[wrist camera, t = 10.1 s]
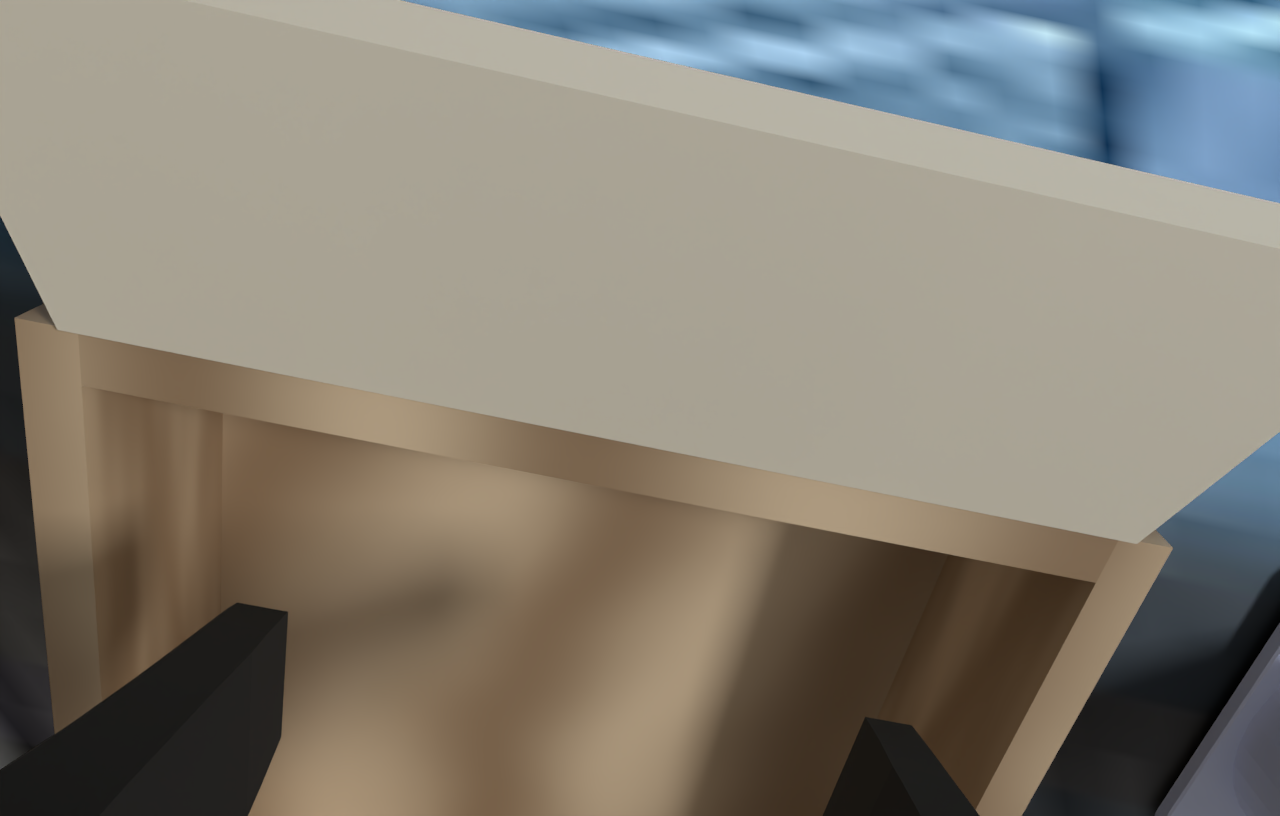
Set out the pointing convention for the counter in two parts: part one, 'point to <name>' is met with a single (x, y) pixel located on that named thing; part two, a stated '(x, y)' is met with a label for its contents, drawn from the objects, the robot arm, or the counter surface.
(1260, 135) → the counter surface
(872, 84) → the counter surface
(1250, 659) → the counter surface
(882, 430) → the flap
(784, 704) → the kraft box
